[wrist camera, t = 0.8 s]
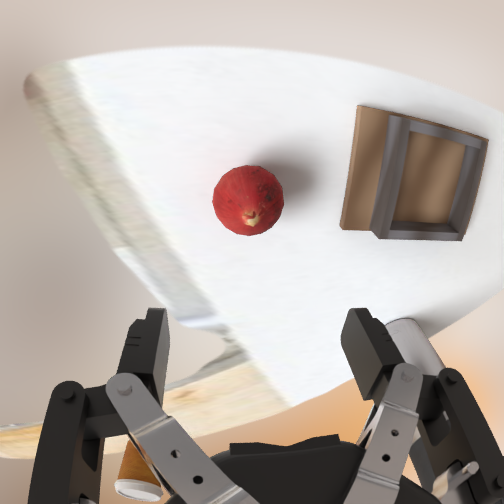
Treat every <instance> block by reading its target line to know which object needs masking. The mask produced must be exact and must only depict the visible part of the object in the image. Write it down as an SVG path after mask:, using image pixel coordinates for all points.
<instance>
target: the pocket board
mask: <svg viewBox="0 0 504 504" xmlns="http://www.w3.org/2000/svg"><path fill="white" fill-rule="evenodd" d="M488 141H489V140H488V139H485V138H483V137H480V136H477V135H474V134H471V133H468V132H465V131H462V130H458V129H455V128H452V127H448V126H445V125H442V124H438V123H434V122H431V121H427V120H423V119H419V118H415V117H411V116H407V115H403V114H398V113H394V112H389V111H384V110H379V109H374V108H369V107H364V106H358V105H357V112H356V120H355V129H354V137H353V144H352V152H351V159H350V166H349V172H348V179H347V185H346V191H345V197H344V203H343V209H342V215H341V220H340V227H341V228H342V230H362V231H372V232H373V233H374V234H375V235H376V236H377V237H378V239H399V240H439V241H462V239H463V236H464V235H465V233H466V230H467V227H468V224H469V221H470V217H471V214H472V210H473V207H474V203H475V200H476V196H477V192H478V188H479V184H480V180H481V176H482V171H483V167H484V162H485V157H486V152H487V147H488Z"/></svg>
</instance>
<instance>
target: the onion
mask: <svg viewBox="0 0 504 504" xmlns="http://www.w3.org/2000/svg"><path fill="white" fill-rule="evenodd" d="M212 203H213V206H214V210H215V213H216V216H217V218H218V219H219V220H220V221H221V222H222V224H223V225H224V226H225V227H226V228H228V229H229V230H231V231H233V232H235V233H236V234H240V235H247V236H251V235H256V234H261V233H263V232H265V231H267V230H268V229H270V228H272V226H273V225H274V224H275V223H276V222H277V220H278V219H279V217H280V215H281V212H282V209H283V206H284V200H283V192H282V187H281V185H280V183H279V182H278V180H277V179H276V177H275V176H274V175H273V174H272V173H270V172H268V171H267V170H265V169H263V168H262V167H260V166H248V165H245V166H241V167H237V168H233V169H232V170H230V171H229V172H227V173H226V174H225V175H223V176H222V178H221V179H220V181H219V182H218V184H217V185H216V187H215V189H214V194H213V201H212Z"/></svg>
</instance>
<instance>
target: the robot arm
mask: <svg viewBox="0 0 504 504" xmlns="http://www.w3.org/2000/svg"><path fill="white" fill-rule="evenodd" d="M341 345H342V348H343V350H344V353H345V355H346V358H347V360H348V363H349V365H350V367H351V370H352V372H353V375H354V377H355V380H356V382H357V385H358V387H359V390H360V392H361V395H362V397H363V400H371V399H373V401H374V405H373V406H372V408H371V411H370V414H369V416H368V418H367V421H366V423H365V426H364V428H363V430H362V432H361V435H360V437H359V439H358V441H357V442H356V444H353V443H350V442H345V441H340V439H339V436H338V434H334V435H327V436H320V437H313V438H310V439H307V440H305V441H302V442H299V443H296V444H293V445H290V446H279V445H271V444H265V443H259V442H254V443H230V449H229V450H228V451H224V452H221V453H218V454H216V455H214V456H212V457H210V458H209V457H208V456H207V455H206V454H205V453H204V452H203V451H202V449H200V447H199V446H198V445H197V444H196V443H195V442H194V441H193V439H192V438H191V437H190V436H189V435H188V434H187V432H186V431H185V430H184V429H183V428H182V427H181V425H180V424H179V423H178V422H177V421H176V420H175V419H174V418H173V417H172V416H168V415H167V414H166V413H165V412H164V411H163V410H162V404H163V395H164V386H165V378H166V370H167V363H168V355H169V348H170V335H169V327H168V318H167V310H166V308H149V309H148V311H147V315H146V319H145V320H142V319H136V321H135V322H134V323H133V324H132V325H131V326H130V327H129V331H128V334H127V338H126V341H125V346H124V348H123V351H122V356H121V359H120V363H119V366H118V370H117V373H116V375H114V376H113V377H111V378H110V379H109V380H108V382H107V384H105V385H102V386H99V387H92V388H86V389H84V388H83V387H82V385H81V384H79V383H78V382H75V381H65V382H62V383H60V384H58V385H57V386H56V387H55V388H54V390H53V392H52V394H51V398H50V401H49V405H48V409H47V412H46V416H45V419H44V423H43V427H42V431H41V435H40V439H39V444H38V448H37V453H36V457H35V462H34V467H33V472H32V478H31V484H30V490H29V496H28V504H99V495H100V481H101V470H102V459H103V450H104V442H105V438H106V437H113V436H119V435H124V434H126V435H127V436H128V438H129V439H130V441H131V442H132V444H133V445H134V447H135V448H136V449H137V451H138V452H139V454H140V455H141V457H142V458H143V459H144V461H145V462H146V464H147V465H148V466H149V468H150V469H151V471H152V472H153V474H154V475H155V477H156V478H157V479H158V481H159V482H160V483H161V485H162V486H163V487H164V488H165V490H166V491H167V492H168V493H169V495H170V496H171V498H169V500H168V501H167V502H166V503H165V504H504V456H502V453H501V451H500V449H499V447H498V445H497V442H496V440H495V438H494V436H493V434H492V432H491V430H490V428H489V426H488V424H487V421H486V419H485V418H484V415H483V414H482V412H481V410H480V408H479V406H478V404H477V402H476V400H475V398H474V396H473V395H472V393H471V391H470V389H469V387H468V385H467V383H466V382H465V380H464V378H463V377H462V375H461V374H460V373H459V372H458V371H457V370H455V369H452V368H446V367H445V365H444V364H443V362H442V360H441V359H440V357H439V356H438V354H437V353H436V351H435V350H434V348H433V347H432V345H431V343H430V342H429V340H428V339H427V337H426V336H425V334H424V333H423V331H422V330H421V328H420V327H419V325H418V324H417V323H416V322H415V321H414V320H412V319H399V320H396V321H393V322H391V323H389V324H387V325H384V324H383V323H382V322H380V321H379V320H378V319H377V318H373V317H372V316H371V314H370V312H369V310H368V309H367V308H351V309H350V310H349V311H348V314H347V317H346V321H345V324H344V327H343V330H342V333H341ZM408 454H409V455H410V458H411V460H412V463H413V465H414V467H415V470H416V472H417V475H418V478H419V480H420V483H421V486H422V487H420V486H419V485H417V484H416V483H414V482H413V481H411V480H409V479H408V478H406V477H405V476H403V475H402V472H403V469H404V466H405V463H406V460H407V457H408Z"/></svg>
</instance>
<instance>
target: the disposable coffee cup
mask: <svg viewBox="0 0 504 504" xmlns="http://www.w3.org/2000/svg"><path fill="white" fill-rule="evenodd" d="M114 486H115V487H116V491H117V493H119V494H120V495H122V496H124V497H128V498H131V499H135V500H141V501H158V500H160V499H161V496H162V495H163V491H162V489H161V484H160V482H159V481H158V479H157V478H156V477H155V475H154V474H153V472H152V471H151V469H150V468H149V466H148V465H147V464H146V462H145V461H144V459H143V458H142V457H141V455H140V454H139V452H138V451H137V449H136V448H135V447H134V445H133V444H132V442H131V441H130V440H129V441H128V443H127V446H126V450H125V454H124V457H123V461H122V464H121V468H120V472H119V476H118V480H117V481H116V483H115V484H114Z"/></svg>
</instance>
